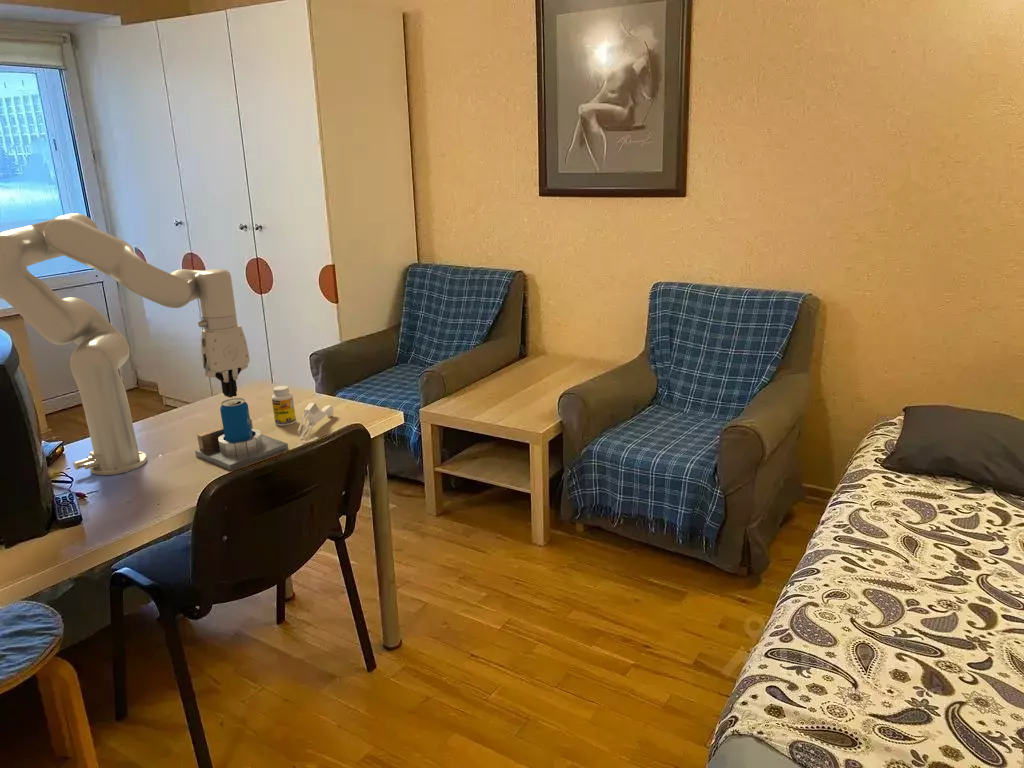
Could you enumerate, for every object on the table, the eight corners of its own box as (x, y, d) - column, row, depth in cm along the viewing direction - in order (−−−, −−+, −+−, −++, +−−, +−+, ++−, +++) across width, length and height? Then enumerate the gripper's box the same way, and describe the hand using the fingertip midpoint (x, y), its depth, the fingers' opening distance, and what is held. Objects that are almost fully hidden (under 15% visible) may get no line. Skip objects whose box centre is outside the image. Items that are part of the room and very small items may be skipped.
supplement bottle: (272, 426, 210) (266, 391, 207) (279, 419, 215) (274, 384, 212) (291, 426, 210) (286, 390, 207) (299, 419, 215) (294, 384, 212)
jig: (231, 470, 182) (227, 449, 181) (196, 456, 192) (192, 435, 191) (288, 449, 194) (285, 428, 192) (252, 436, 204) (249, 416, 202)
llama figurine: (313, 458, 204) (335, 412, 217) (301, 427, 197) (324, 381, 210) (306, 458, 204) (329, 412, 218) (294, 427, 197) (318, 381, 210)
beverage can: (248, 451, 189) (241, 405, 186) (222, 452, 190) (214, 406, 186) (258, 442, 196) (250, 397, 192) (233, 442, 196) (225, 397, 192)
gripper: (199, 330, 175) (210, 407, 181) (257, 318, 186) (266, 391, 192) (182, 326, 180) (193, 401, 185) (239, 314, 191) (249, 385, 196)
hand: (230, 395), depth 189 cm, fingers closed
